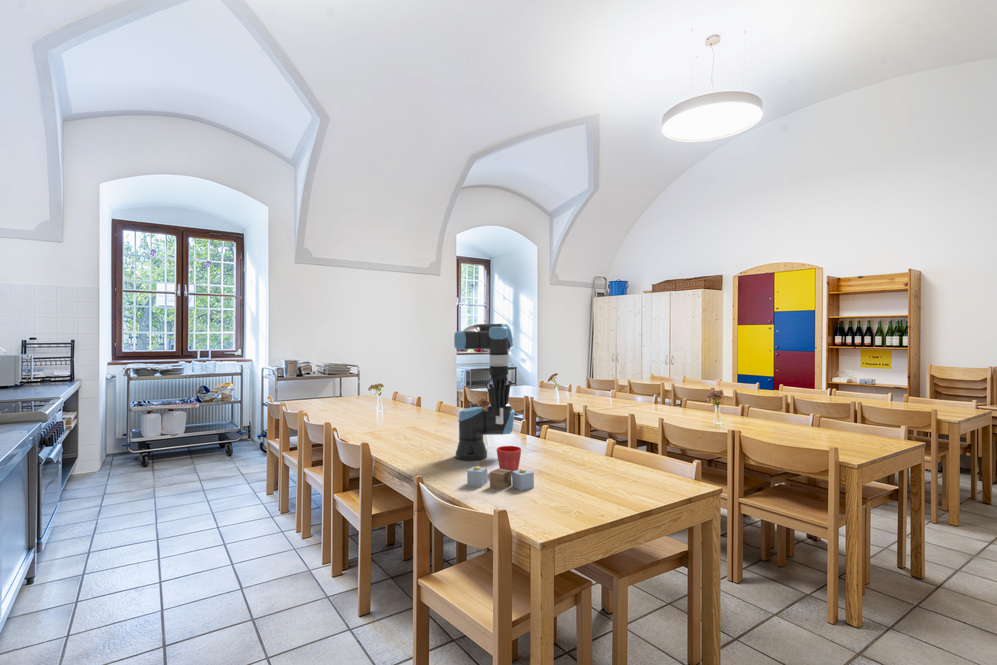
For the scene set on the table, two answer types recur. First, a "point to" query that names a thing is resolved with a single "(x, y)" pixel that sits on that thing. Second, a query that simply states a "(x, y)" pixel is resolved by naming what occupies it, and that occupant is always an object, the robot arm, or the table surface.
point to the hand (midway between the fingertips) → (499, 423)
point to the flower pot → (509, 457)
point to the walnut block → (500, 479)
